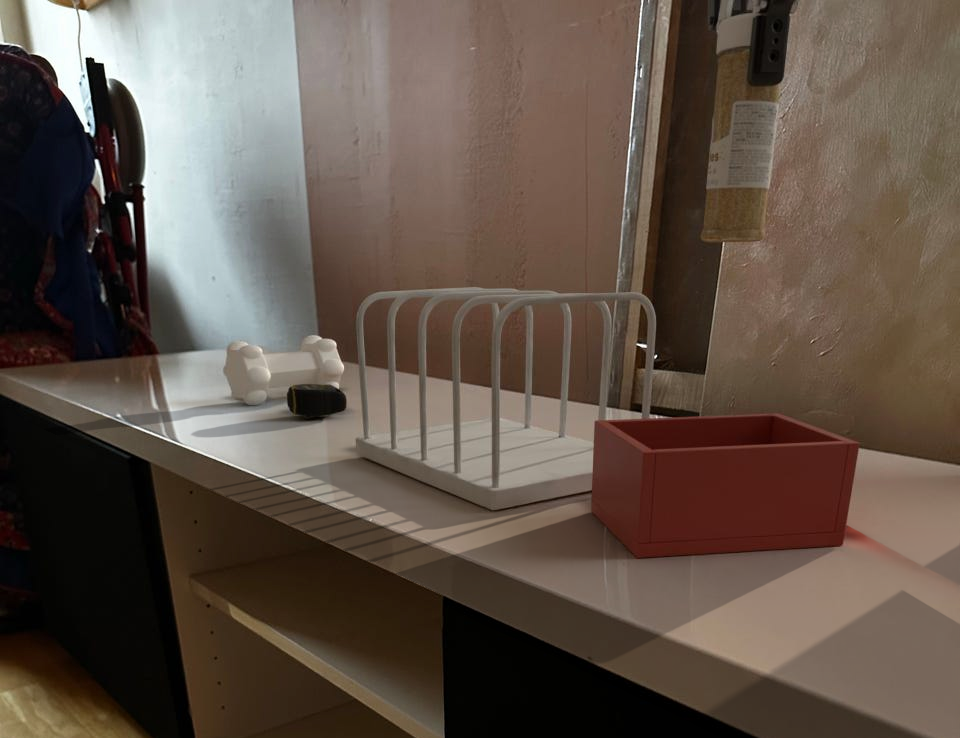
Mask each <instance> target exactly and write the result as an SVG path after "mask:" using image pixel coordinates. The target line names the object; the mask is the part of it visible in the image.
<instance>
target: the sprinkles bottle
mask: <svg viewBox="0 0 960 738" xmlns="http://www.w3.org/2000/svg"><path fill="white" fill-rule="evenodd" d="M757 15H758V16H760V13H747V14H741V15H736V16H732V17H729V18H727V19H725V20H723V21H722V22H721V23H720V25H719V28H718V35H717V38H716V39H717V40H716V50H715V53H716V55H717V56H718V58H717V74H716V84H715V87H716V88H715V94H714V105H713V106H714V108H713V109H714V110H713V116H712V120H711V121H712V122H711V132H710V142H709V153H708V154H709V155H708V165H707V174H706V175H707V176H706V186H705V187H706V197H705V204H704V205H705V206H704V208H705V209H704V219H703V228H702V231H701V234H700V239H701V240H702V241H703V242H704V243H705V242H706V243H753V242H757V243H758V242H761V241H763V240H764V239H765V237H766V231H765V223H766V221H765V220H766V211H767V202H768V194H769V190H770V186H771V178H772V172H773V171H772V170H773V160H774V153H775V145H776V136H777V126H778V118H779V110H780V104H779V100H780V94H781V93H780V91H781V83H779V84H777V85H775V86H771V87H768V86H751V85H749V83H748V81H747V74H748V64H749V53H750V43H751V33H752V22H753V18H754V17H756V16H757ZM789 34H790V33H789ZM789 34H788V37H789V36H790V35H789ZM788 45H789V42H788V43H787V47H788Z"/></svg>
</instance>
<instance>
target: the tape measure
mask: <svg viewBox="0 0 960 738" xmlns="http://www.w3.org/2000/svg"><path fill="white" fill-rule="evenodd" d="M347 402H348V401H347V396H346V394H345V393H344V391H342V390H341V389H340V388H339V389H338V388H336V387H334V386H332V385H330V384H327V385H322V384H300V385H292V386H289V388H288V390H287V392H286V403H287V407H288V409H289V411H290V413H292V414H294V415H297V416H302V417H303V418H305V419H307V420H309V419H313V418H315V417H323V416H329V417H331V415H334V414H338V413H342V412H344V411H346V409H347Z"/></svg>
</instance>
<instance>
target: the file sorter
mask: <svg viewBox="0 0 960 738" xmlns="http://www.w3.org/2000/svg"><path fill="white" fill-rule="evenodd" d="M415 298H430V299H428V301H426V303H425V305H424V306H423V308H422V309H421V311H420V314H419V318H418V328H417V330H418V331H417V347H418V349H417V350H418V351H417V352H418V353H417V354H418V356H417V357H418V385H419V386H418V390H419V391H418V393H419V395H418V397H419V428H411V429H406V430H405V429H404V430H399V431H398V413H397V381H396V380H397V379H396V377H397V376H396V345H395V340H396V338H395V335H396V333H395V332H396V329H395V328H396V327H395V324H396V323H395V322H396V316H397V312H398V310H399V308H400V307H401V306H402V305H403V304H404V303H405V302H406V301H409V300H410V299H415ZM386 299H394V300H393V302H392V303H391V305H390V307H389V310H388V312H387V313H388V314H387V326H386V330H387V331H386V332H387V334H386V335H387V364H388V365H387V366H388V398H389V399H388V400H389V401H388V403H389V429H390V431H389V432H385V433H384V432H383V433H377V434H370V428H371V427H370V412H369V398H368V387H367V386H368V384H367V369H366V353H365V338H364V315H365V313H366V311H367V309H368V307H369V306H371V304H373V303H375V302H376V301H379V300H386ZM454 300H455V301H461V300H467V301H465V302H464V303H463V304H462V305H461V306H460V308H459V309H458V310H457V312H456V314H455V315H454V319H453V321H452V322H453V323H452V330H451V360H452V361H451V363H452V366H451V367H452V369H451V370H452V373H451V375H452V423H448V424H441V425H433V426H428V423H427V422H428V414H427V409H428V408H427V407H428V403H427V401H428V399H427V348H426V347H427V322H428V318H429V315H430V313H431V312H432V310H433V309H434V307H435V306H436V305H438V304H439V303H441V302H445V301H454ZM617 301H618V302H619V301H636V302H638V303H639V304H640V305H641V306H642V307H643V309H644V311H645V314H646V316H647V317H646V318H647V319H646V320H647V336H646V347H645V348H646V349H645V365H644V380H643V392H642V393H643V394H642V405H641V418H640V419H648V418H650V414H651V413H650V412H651V401H652V400H651V399H652V390H653V389H652V387H653V374H654V362H655V348H656V347H655V346H656V334H657V333H656V332H657V315H656V312H655V308H654V306H653V304H652V302H651V300H650V299H649V298H648V297H647V296H646V295H644V294H643V293H640V292H635V291H630V292H629V291H626V292H603V293H588V292H587V293H585V292H584V293H583V292H581V293H580V292H579V293H576V292H575V293H573V292H572V293H558V292H556V291H554V290H519V289H516V288H508V287H507V288H483V287H476V286H475V287H471V286H470V287H452V288H431V289H412V290H395V291H394V290H393V291H391V290H390V291H379V292H375V293H372V294H370V295H368V296H367V297H366V298H365V299H364V300H363V301H362V302H361V304H360V305H359V307H358V310H357V313H356V318H355V319H356V320H355V321H356V322H355V325H356V326H355V329H356V343H357V344H356V347H357V360H358V374H359V389H360V403H361V417H362V428H363V436H362V435H361V436H357V437H355V453H356V455H358V456H361V457H363V458H365V459H368V460H370V461H373V462H375V463H377V464H379V465H382V466H384V467H387V468H389V469H392V470H394V471H396V472H399V473H400V474H403V475H406V476H408V477H411V478H413V479H415V480H418V481H420V482H422V483H424V484H427V485H431V487H435V488H437V489H440V490H442V491H444V492H447V493H450V494H451V495H454V496H457V497H459V498H461V499H464V500H465V501H469V502H471V503H474V504H476V505H478V506H481V507H483V508H486V509H488V510H491V511H498V510H502V509H503V510H504V509H507V508H513V507H516V506H518V507H519V506H521V505H528V504H531V503H535V502H541V501H546V500H551V499H556V498H562V497H566V496H570V495H575V494H579V493H580V494H581V493H584V492H590V491H592V473H593V449H594V441H590V440H587V439H583V438H579V437H575V436H573V435H572V436H571V435H567V434H566V432H567V431H566V430H567V414H568V396H569V379H570V364H571V363H570V361H571V360H570V359H571V343H572V313H571V308H570V306H569V304H579V303H580V304H581V303H593V304H595V305H596V306H597V307H598V308H599V309H600V312H601V314H602V319H603V337H602V355H601V357H602V358H601V374H600V387H599V403H598V413H597V414H598V415H597V421H598V420H606V416H607V401H608V400H607V399H608V385H609V373H610V371H609V370H610V357H611V356H610V355H611V341H612V340H611V339H612V316H611V312H610V308H609V306H608V304H607V303H606V302H617ZM498 304H505V305H504V306H503V307H502V308H501V310H500V307H499V305H498ZM479 305H491V306H490V307H491V309H492V323H493V326H492V332H491V373H490V375H491V418H484V419H478V420H477V419H476V420H470V421H469V420H468V421H463V422H462V409H461V407H462V405H461V404H462V403H461V401H462V398H461V395H462V394H461V347H460V345H461V342H460V338H461V327H462V322H463V320H464V318H465V317H466V315H467V313H468V312H469V311H470V310H471V309H473V308H475V307H476V306H479ZM547 305H548V306H549V305H559V306H560V308H561V310H562V313H563V322H564V323H563V324H564V325H563V326H564V327H563V344H562V345H563V346H562V368H561V387H560V403H559V404H560V407H559V428H558V432H556V431H552V430H548V429H545V428H541V427H537V426H534V425H531V424H532V394H533V393H532V392H533V391H532V390H533V387H532V386H533V352H534V351H533V350H534V348H533V347H534V346H533V345H534V342H533V341H534V312H533V307H534V306H547ZM522 307H524V309H525V315H526V316H525V317H526V335H525V336H526V337H525V339H526V341H525V342H526V343H525V382H524V383H525V388H524V389H525V390H524V423H521V422H518V421H515V420H510V419H505V418H502V417H501V340H502V339H501V337H502V336H501V335H502V330H503V326H504V323H505V322H506V320H507V318H508V317H509V316H510V314H511V313H513V312H514V311H516V310H517V309H520V308H522Z"/></svg>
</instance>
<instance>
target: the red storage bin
mask: <svg viewBox="0 0 960 738" xmlns="http://www.w3.org/2000/svg"><path fill="white" fill-rule="evenodd" d="M593 426H594V427H593V428H594V429H593V442H594V449H593V473H592V490H591V501H590V502H591V503H590V512H591V513H592V514H593V515H594V516H595V517H596V518H597V519H598V520H599V521H600V522H601V523H602V524H603V525H604V526H605V527H606V528H607V529H608V530H609V531H610V532H611V533H612V534H613V535H614V536H615V537H616V538H617V539H618V540H619V541H620V542H621V543H622V545H624V547H626V548H627V549H628V551H629V552H630V553H631V554H632V555H633V556H635V558H637V559H645V558H660V557H677V556H692V555H693V556H694V555H709V554H724V553H740V552H758V551H773V550H775V551H777V550H791V549H807V548H821V547H822V548H823V547H837V546H838V547H839V546H843V545H844V539H845V534H846V533H845V532H846V528H847V522H848V517H849V510H850V504H851V499H852V492H853V487H854V486H853V485H854V480H855V474H856V468H857V462H858V455H859V449H860V445H861V444H860V442H858V441H855V440H853V439H850V438H847V437H844V436H843V435H839V434H836V433H834V432H831V431H828V430H825V429H823V428H819V427H817V426H814V425H812V424H809V423H806V422H803V421H801V420H797V419H795V418H792V417H789V416H787V415H784V414H781V413H777V412H776V413H775V412H774V413H751V414H729V415H728V414H727V415H723V414H722V415H704V416H703V415H700V416H698V415H697V416H675V417H674V416H673V417H653V418H652V417H651V418H650V417H649V418H648V419H641V418H630V419H629V418H627V419H626V418H625V419H605V420H598V419H597V420H594V425H593Z"/></svg>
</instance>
